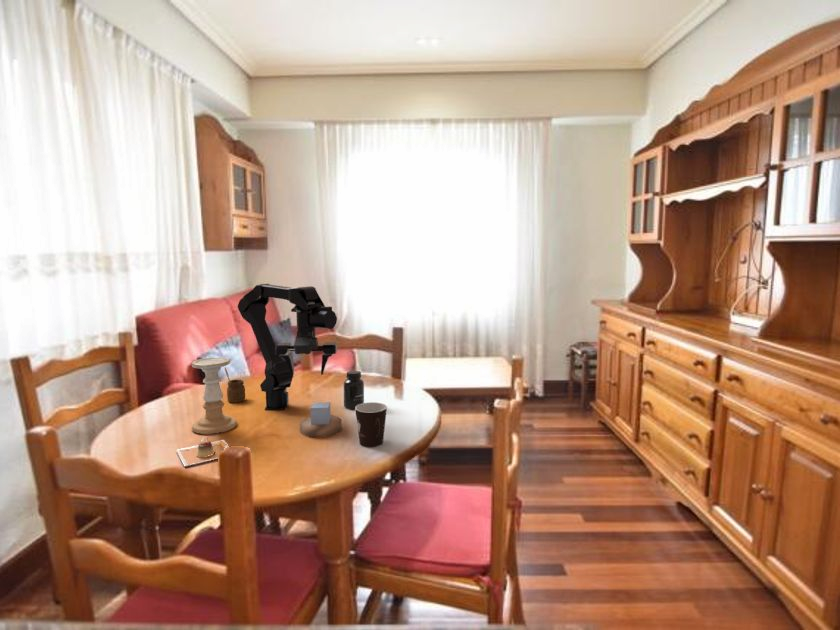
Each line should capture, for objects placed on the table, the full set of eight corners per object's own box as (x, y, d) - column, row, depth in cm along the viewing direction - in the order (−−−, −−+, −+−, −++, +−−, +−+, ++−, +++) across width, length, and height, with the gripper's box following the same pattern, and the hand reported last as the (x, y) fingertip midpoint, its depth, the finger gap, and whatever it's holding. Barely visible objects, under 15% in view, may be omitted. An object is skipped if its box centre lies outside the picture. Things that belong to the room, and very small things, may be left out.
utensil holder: (244, 402, 165) (243, 368, 164) (225, 403, 164) (223, 369, 162) (246, 397, 171) (244, 364, 169) (227, 398, 169) (226, 365, 168)
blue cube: (310, 424, 137) (310, 407, 136) (313, 418, 142) (313, 402, 141) (328, 424, 137) (328, 407, 136) (330, 418, 142) (330, 402, 141)
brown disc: (296, 437, 133) (296, 429, 133) (304, 422, 145) (303, 415, 145) (339, 436, 134) (339, 428, 134) (343, 422, 146) (343, 414, 146)
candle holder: (182, 431, 138) (177, 363, 136) (214, 417, 150) (211, 355, 147) (214, 437, 134) (211, 367, 131) (245, 423, 145) (242, 358, 143)
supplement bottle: (360, 410, 157) (359, 375, 155) (340, 409, 158) (340, 374, 157) (366, 404, 164) (366, 370, 162) (347, 402, 165) (347, 369, 163)
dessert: (236, 458, 121) (235, 440, 121) (184, 470, 114) (183, 451, 114) (224, 443, 131) (223, 426, 130) (176, 453, 124) (174, 436, 123)
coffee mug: (358, 436, 135) (357, 402, 133) (388, 436, 134) (388, 402, 133) (351, 453, 123) (350, 416, 122) (384, 453, 123) (383, 416, 121)
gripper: (269, 330, 141) (271, 382, 143) (332, 330, 142) (334, 381, 144) (278, 325, 152) (280, 372, 154) (337, 324, 153) (338, 372, 155)
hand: (307, 374), depth 151 cm, fingers open, 9 cm apart
